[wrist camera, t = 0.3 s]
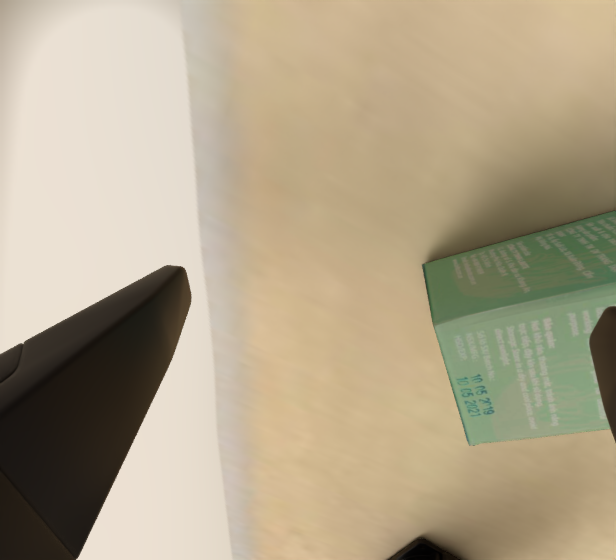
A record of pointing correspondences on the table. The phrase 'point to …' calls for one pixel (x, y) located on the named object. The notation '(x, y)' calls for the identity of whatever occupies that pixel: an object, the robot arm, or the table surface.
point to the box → (525, 330)
